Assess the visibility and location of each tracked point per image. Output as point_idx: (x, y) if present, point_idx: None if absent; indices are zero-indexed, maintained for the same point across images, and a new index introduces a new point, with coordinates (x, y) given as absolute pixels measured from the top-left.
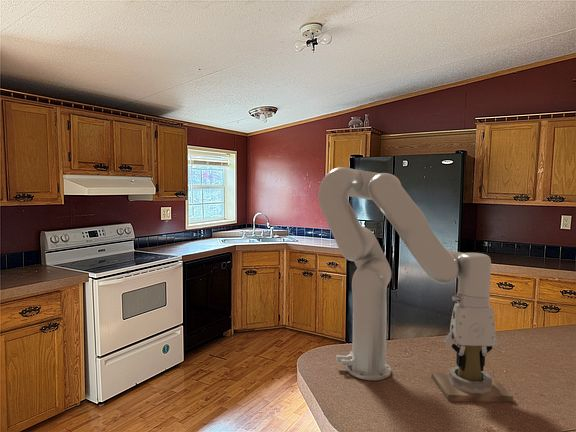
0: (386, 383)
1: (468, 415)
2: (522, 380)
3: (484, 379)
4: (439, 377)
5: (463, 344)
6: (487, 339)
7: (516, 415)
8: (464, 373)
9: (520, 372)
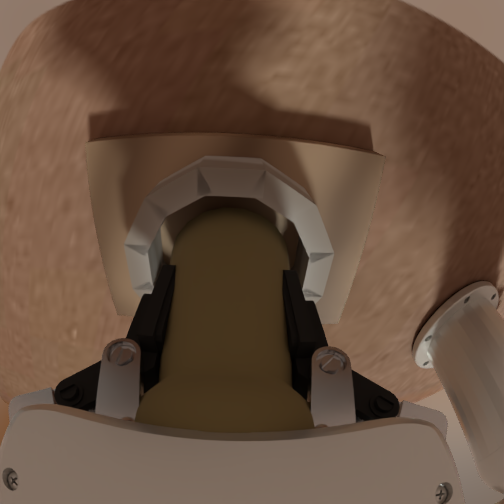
0: (466, 271)
1: (347, 43)
2: (38, 284)
3: (157, 256)
4: (334, 292)
5: (389, 431)
6: (62, 486)
7: (137, 38)
8: (281, 258)
9: (41, 320)
